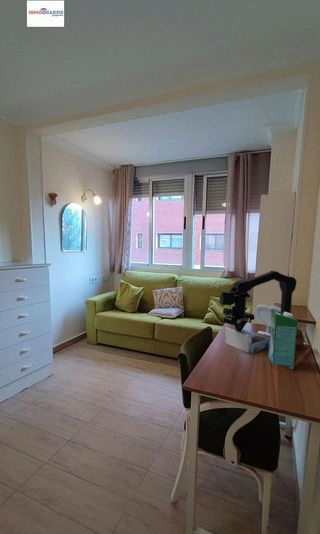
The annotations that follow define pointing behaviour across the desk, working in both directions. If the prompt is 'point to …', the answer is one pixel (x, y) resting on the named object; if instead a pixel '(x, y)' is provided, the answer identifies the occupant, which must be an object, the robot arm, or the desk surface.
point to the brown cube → (256, 339)
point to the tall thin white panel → (237, 339)
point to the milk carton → (282, 338)
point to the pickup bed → (258, 345)
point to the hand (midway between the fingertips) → (238, 334)
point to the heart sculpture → (265, 316)
